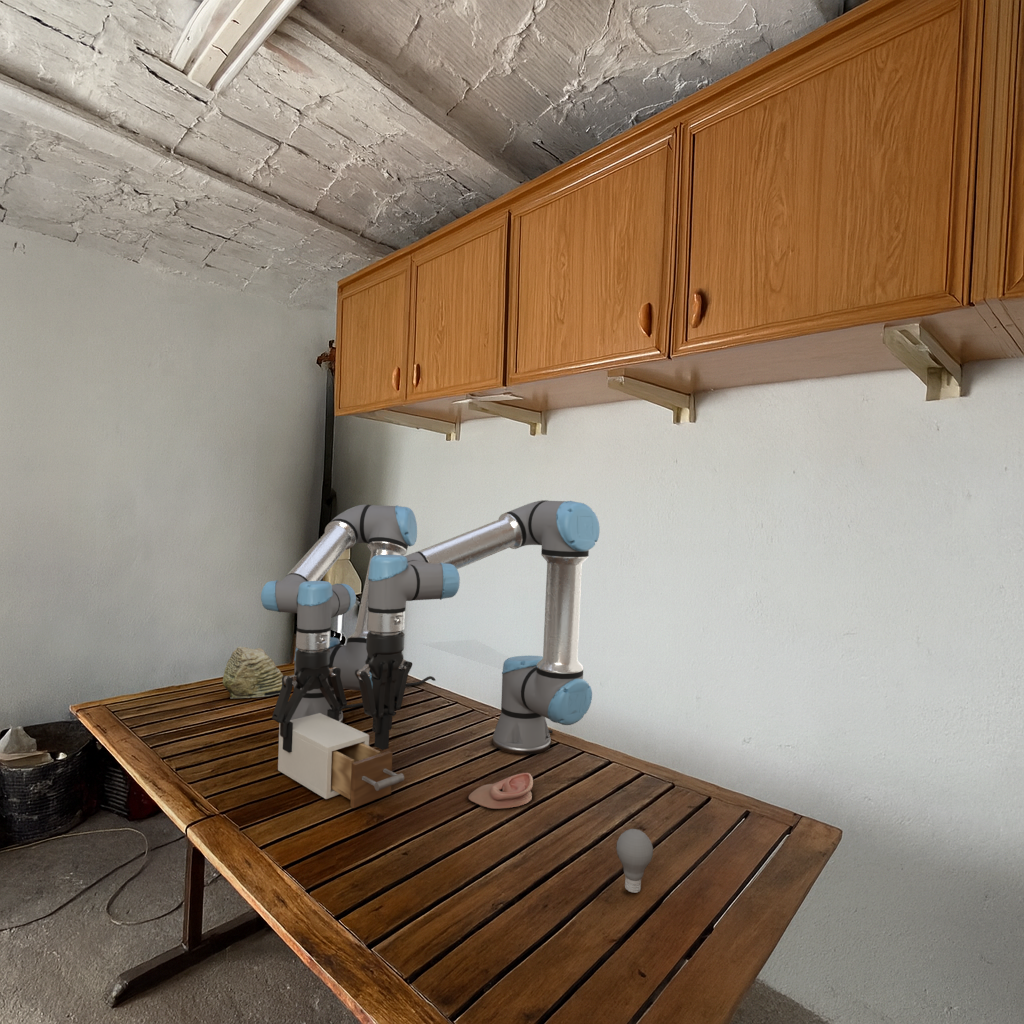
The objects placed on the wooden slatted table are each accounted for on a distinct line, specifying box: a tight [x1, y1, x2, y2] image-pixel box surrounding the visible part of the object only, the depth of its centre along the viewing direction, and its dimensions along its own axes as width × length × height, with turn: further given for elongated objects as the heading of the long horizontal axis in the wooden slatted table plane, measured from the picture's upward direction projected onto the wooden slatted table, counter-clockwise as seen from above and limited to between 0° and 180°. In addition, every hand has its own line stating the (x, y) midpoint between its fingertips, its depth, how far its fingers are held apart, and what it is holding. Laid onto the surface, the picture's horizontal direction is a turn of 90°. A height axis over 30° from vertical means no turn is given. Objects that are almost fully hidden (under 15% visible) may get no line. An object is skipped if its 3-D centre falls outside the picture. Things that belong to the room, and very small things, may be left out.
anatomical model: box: [468, 772, 534, 810], centre depth 137 cm, size 13×4×12 cm
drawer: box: [331, 743, 405, 809], centre depth 134 cm, size 25×9×9 cm, turn 49°
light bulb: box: [615, 828, 654, 894], centre depth 106 cm, size 6×6×10 cm
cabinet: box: [277, 713, 370, 800], centre depth 143 cm, size 20×10×11 cm, turn 49°
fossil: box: [222, 646, 284, 699], centre depth 198 cm, size 9×18×15 cm, turn 132°
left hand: (309, 744), depth 146 cm, fingers closed on cabinet, 10 cm apart
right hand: (381, 747), depth 129 cm, fingers closed
